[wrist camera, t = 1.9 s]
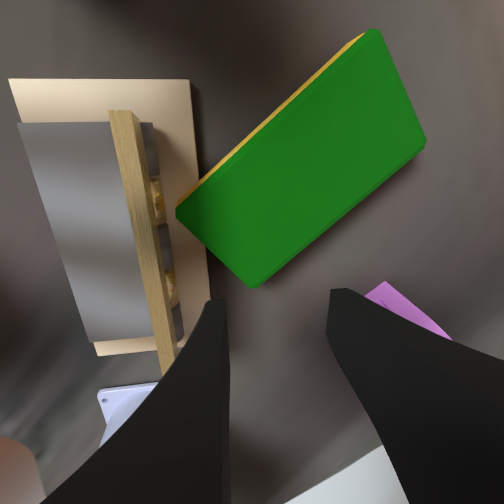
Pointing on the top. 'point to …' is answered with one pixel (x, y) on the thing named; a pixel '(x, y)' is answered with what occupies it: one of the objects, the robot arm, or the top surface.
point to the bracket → (402, 307)
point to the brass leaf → (147, 230)
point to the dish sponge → (306, 163)
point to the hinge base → (114, 198)
